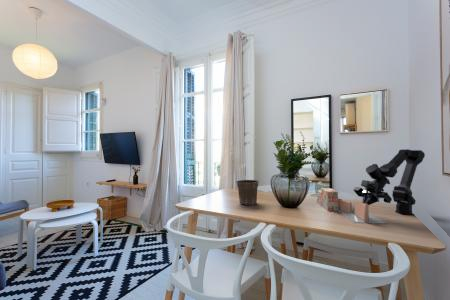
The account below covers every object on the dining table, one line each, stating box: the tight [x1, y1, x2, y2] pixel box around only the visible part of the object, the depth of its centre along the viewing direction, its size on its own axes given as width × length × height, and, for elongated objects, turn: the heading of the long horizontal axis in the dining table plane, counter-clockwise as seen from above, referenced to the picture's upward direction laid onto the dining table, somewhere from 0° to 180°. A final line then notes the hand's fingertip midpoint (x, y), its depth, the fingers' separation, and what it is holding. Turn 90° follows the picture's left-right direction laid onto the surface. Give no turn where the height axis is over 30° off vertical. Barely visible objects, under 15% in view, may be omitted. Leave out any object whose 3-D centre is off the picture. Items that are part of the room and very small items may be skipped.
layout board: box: [337, 210, 387, 224], centre depth 124 cm, size 15×25×1 cm, turn 173°
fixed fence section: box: [338, 198, 353, 213], centre depth 133 cm, size 9×2×7 cm, turn 18°
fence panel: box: [352, 199, 370, 222], centre depth 119 cm, size 16×3×9 cm, turn 171°
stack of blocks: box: [316, 187, 339, 212], centre depth 145 cm, size 21×6×12 cm, turn 174°
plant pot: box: [236, 179, 260, 206], centre depth 157 cm, size 16×16×16 cm
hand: (363, 206), depth 118 cm, fingers closed
